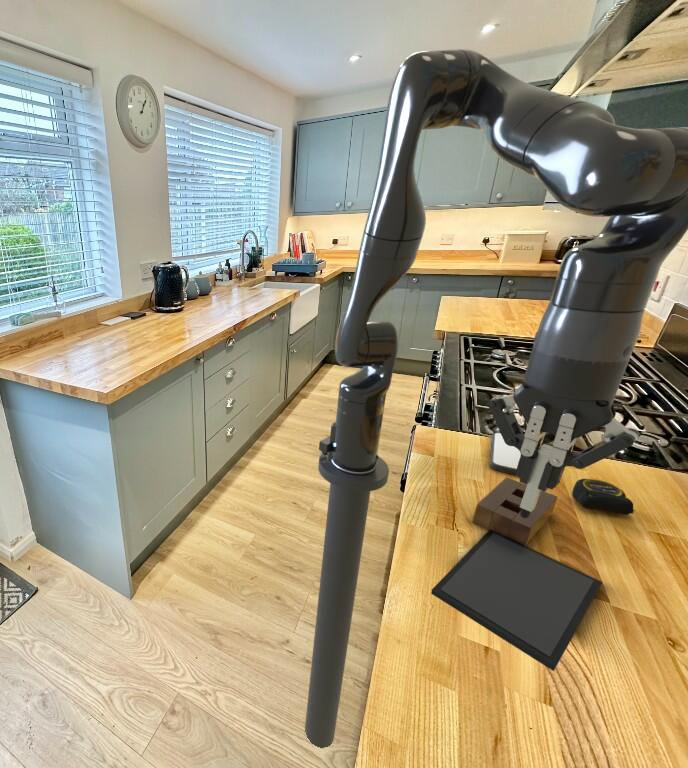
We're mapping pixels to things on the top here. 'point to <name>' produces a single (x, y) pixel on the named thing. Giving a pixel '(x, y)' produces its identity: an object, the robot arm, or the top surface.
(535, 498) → the grey square rod
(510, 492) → the pen stand
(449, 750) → the top surface
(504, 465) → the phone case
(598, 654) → the top surface
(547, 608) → the tablet
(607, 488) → the tape measure
